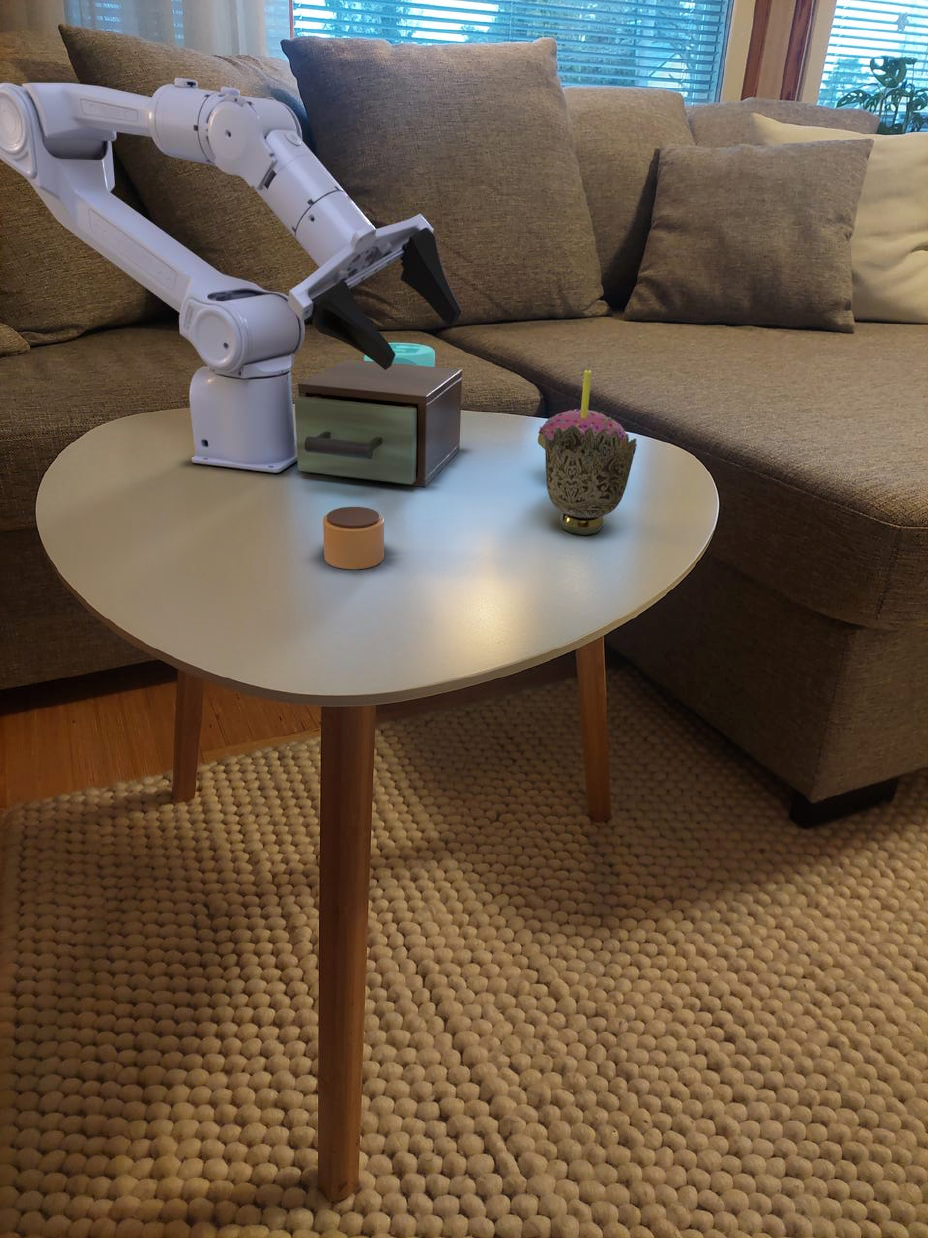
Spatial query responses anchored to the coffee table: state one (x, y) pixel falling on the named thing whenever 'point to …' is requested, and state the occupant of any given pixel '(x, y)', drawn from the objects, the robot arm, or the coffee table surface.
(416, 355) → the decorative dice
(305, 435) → the drawer
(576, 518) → the cup
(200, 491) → the coffee table surface
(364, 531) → the orange short cylinder
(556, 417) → the cupcake
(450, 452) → the cabinet
